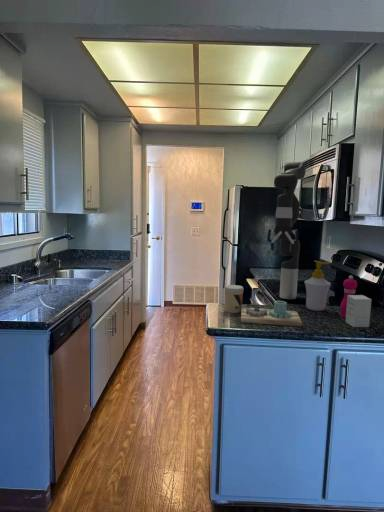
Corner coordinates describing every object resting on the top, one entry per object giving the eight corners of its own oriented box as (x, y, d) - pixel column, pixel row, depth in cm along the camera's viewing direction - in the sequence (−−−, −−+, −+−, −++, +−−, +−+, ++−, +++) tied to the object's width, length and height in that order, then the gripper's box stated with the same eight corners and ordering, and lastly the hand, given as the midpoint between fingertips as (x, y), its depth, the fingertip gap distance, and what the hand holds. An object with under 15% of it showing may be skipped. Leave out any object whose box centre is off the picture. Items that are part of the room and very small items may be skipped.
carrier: (241, 311, 170) (241, 298, 169) (296, 315, 166) (297, 302, 166) (240, 322, 155) (241, 307, 154) (301, 326, 151) (302, 311, 150)
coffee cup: (236, 314, 165) (237, 289, 164) (219, 310, 171) (220, 286, 169) (246, 310, 173) (247, 286, 171) (229, 306, 178) (230, 283, 177)
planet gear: (268, 311, 165) (269, 298, 164) (289, 312, 164) (290, 300, 163) (269, 317, 156) (270, 304, 155) (292, 319, 154) (292, 305, 153)
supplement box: (360, 321, 159) (363, 294, 157) (369, 327, 151) (372, 299, 150) (344, 321, 158) (347, 294, 157) (352, 327, 151) (355, 298, 149)
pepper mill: (346, 319, 161) (349, 277, 159) (335, 315, 168) (339, 274, 166) (359, 318, 163) (363, 276, 161) (348, 314, 170) (352, 273, 168)
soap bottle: (320, 314, 169) (324, 264, 166) (297, 308, 178) (300, 260, 175) (333, 309, 177) (337, 261, 174) (310, 304, 187) (313, 258, 183)
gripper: (298, 217, 168) (296, 250, 170) (267, 216, 170) (266, 249, 172) (300, 217, 160) (298, 252, 163) (268, 216, 162) (267, 251, 165)
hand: (281, 251), depth 167 cm, fingers open, 8 cm apart
